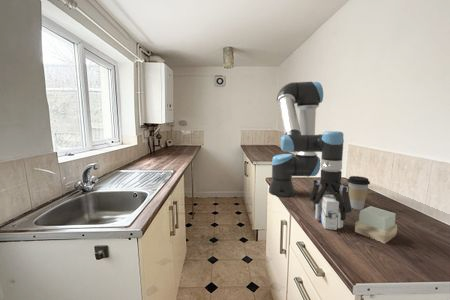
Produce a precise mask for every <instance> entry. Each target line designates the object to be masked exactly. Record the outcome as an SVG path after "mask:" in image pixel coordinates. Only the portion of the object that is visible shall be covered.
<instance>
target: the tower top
mask: <svg viewBox="0 0 450 300" xmlns="http://www.w3.org/2000/svg"><path fill="white" fill-rule="evenodd" d="M358 215H359V216H358V220H359V222H361V223H363V224H366V225H369V226H371V227H374V228H377V229H379V230H382V231H386V230H387V229H389V228H390V227H392V226H394V225H395V224H396V213H395V212H391V211H388V210H386V209H381V208H378V207H376V206H372V205H371V206H368V207H364V208H363V209H362V210H359V214H358Z"/></svg>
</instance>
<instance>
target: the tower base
mask: <svg viewBox="0 0 450 300" xmlns="http://www.w3.org/2000/svg"><path fill="white" fill-rule="evenodd" d="M354 224H355V225H354V232H355V233H358V234H360V235H363V236H364V237H368V238H369V237H370V238H369V239H371V240H374V239H375V241H378V242H379V241H380V242H379V243H382V244H386V243H388V242H389V241H391V240H392V239H393V238H395V237H396V236H397V231H398V224H396V223H395V225H394V226H392V227H390V228H389V229H387V230H386V231H382V230H379V229H377V228H374V227H371V226H369V225H366V224H363V223H361V222H359V219H358V220H356V221H355V223H354Z"/></svg>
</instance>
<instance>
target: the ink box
mask: <svg viewBox="0 0 450 300" xmlns="http://www.w3.org/2000/svg"><path fill="white" fill-rule="evenodd" d="M320 203H321V212H320V218H319V221H320V222H321V225H322V226H323V228H324V229H325V230H332V231H334V230H335V231H337V229H338V228H337V227H338V212H340V209H339V202H338V201H336V199H335V197H334V196H333V194H324V195H323V196H322V198H321V200H320Z"/></svg>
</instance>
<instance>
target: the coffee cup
mask: <svg viewBox="0 0 450 300" xmlns="http://www.w3.org/2000/svg"><path fill="white" fill-rule="evenodd" d="M370 181H371V180H370ZM370 181H369V178H367V177H365V176H359V175H350V176H349V177H348V178H347V183H348V185H347V186H348V187H349V198H350V204H351V209H354V210H357V211H360V210H363V209H365V202H366V200H367V196H368V190H369V189H368V188H369V185H370V184H371V182H370Z"/></svg>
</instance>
